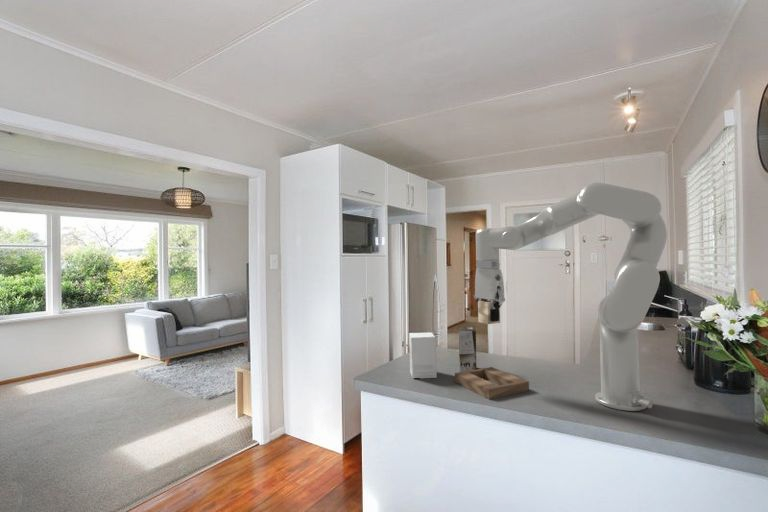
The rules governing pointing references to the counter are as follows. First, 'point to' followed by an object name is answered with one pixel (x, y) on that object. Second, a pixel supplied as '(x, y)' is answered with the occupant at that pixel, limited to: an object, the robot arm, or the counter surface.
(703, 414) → the counter surface
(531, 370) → the counter surface
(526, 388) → the pocket block
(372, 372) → the counter surface
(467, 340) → the coffee box
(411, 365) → the supplement box
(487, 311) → the maple block
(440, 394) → the counter surface
